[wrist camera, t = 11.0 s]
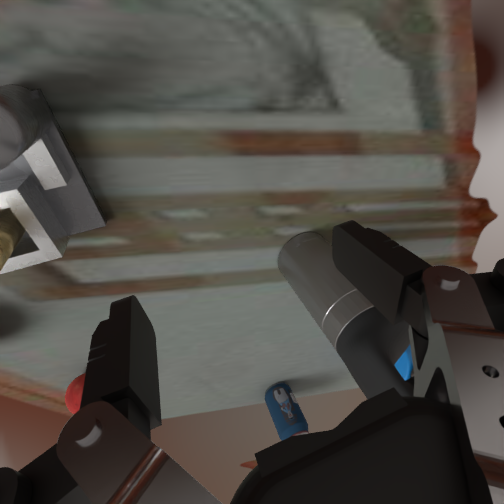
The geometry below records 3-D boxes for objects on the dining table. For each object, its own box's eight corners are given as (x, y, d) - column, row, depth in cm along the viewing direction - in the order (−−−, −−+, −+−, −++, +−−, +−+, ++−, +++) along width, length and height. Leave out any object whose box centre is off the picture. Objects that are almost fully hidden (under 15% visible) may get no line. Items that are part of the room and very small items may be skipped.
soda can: (272, 400, 73) (293, 450, 63) (257, 394, 68) (277, 447, 59) (293, 384, 72) (316, 433, 62) (279, 377, 67) (302, 428, 58)
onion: (106, 356, 45) (102, 403, 39) (113, 377, 49) (110, 424, 42) (65, 365, 44) (54, 416, 37) (75, 387, 47) (66, 437, 40)
